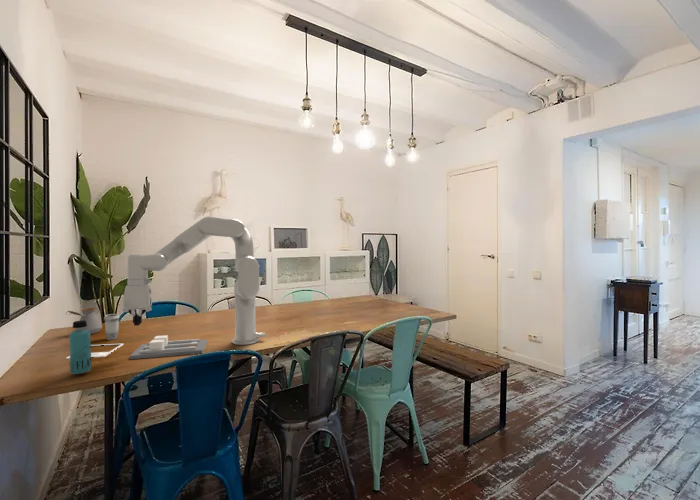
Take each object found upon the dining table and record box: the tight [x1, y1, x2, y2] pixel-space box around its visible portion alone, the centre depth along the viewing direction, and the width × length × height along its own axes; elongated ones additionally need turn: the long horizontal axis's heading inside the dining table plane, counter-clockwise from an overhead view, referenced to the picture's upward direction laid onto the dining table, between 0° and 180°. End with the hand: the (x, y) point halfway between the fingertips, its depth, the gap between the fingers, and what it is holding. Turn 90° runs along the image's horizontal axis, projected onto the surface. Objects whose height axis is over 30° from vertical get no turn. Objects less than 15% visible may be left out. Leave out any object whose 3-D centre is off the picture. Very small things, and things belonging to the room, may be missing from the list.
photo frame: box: [65, 343, 124, 360], centre depth 156 cm, size 15×1×18 cm
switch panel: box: [129, 338, 208, 360], centre depth 158 cm, size 28×17×2 cm, turn 106°
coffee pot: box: [65, 307, 103, 335], centre depth 182 cm, size 21×12×15 cm, turn 5°
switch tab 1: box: [153, 334, 169, 345], centre depth 160 cm, size 5×4×4 cm
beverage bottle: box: [68, 320, 92, 375], centre depth 129 cm, size 6×7×20 cm
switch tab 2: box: [148, 339, 165, 350], centre depth 153 cm, size 5×4×4 cm
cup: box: [103, 313, 120, 341], centre depth 176 cm, size 7×7×12 cm
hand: (137, 324), depth 151 cm, fingers closed
